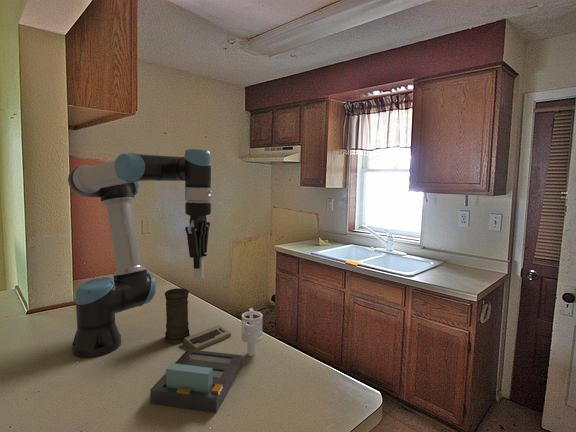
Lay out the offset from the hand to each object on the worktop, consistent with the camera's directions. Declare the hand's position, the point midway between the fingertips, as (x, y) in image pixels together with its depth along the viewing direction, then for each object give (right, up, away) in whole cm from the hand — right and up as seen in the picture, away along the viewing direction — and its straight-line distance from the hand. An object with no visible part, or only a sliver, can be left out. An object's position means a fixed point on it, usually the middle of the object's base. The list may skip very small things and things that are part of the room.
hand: (198, 277), depth 107 cm
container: (-14, -27, +23) cm, 38 cm away
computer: (-2, -28, +22) cm, 35 cm away
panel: (+1, -30, -12) cm, 33 cm away
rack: (+2, -30, -5) cm, 31 cm away
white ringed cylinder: (+15, -29, +13) cm, 35 cm away
